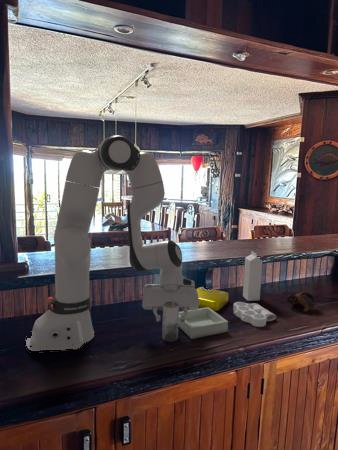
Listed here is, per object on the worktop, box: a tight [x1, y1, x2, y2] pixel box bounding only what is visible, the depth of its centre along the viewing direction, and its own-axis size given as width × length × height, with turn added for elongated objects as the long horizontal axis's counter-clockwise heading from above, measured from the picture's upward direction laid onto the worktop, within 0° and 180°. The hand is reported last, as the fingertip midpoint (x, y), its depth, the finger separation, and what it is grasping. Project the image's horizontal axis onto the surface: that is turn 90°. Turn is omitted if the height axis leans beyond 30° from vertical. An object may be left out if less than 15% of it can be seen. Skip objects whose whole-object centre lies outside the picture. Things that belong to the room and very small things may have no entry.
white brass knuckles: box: [232, 301, 277, 328], centre depth 136 cm, size 3×18×15 cm
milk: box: [242, 250, 263, 302], centre depth 155 cm, size 6×6×22 cm
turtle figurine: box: [285, 291, 317, 313], centre depth 146 cm, size 12×10×8 cm
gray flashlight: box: [161, 302, 180, 343], centre depth 116 cm, size 6×6×13 cm
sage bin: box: [178, 307, 229, 340], centre depth 125 cm, size 15×14×4 cm
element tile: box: [195, 286, 229, 312], centre depth 150 cm, size 15×15×5 cm
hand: (170, 321), depth 115 cm, fingers open, 7 cm apart
